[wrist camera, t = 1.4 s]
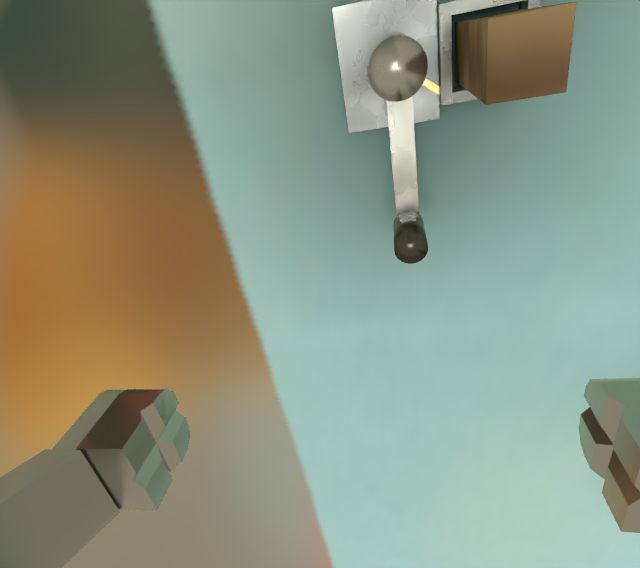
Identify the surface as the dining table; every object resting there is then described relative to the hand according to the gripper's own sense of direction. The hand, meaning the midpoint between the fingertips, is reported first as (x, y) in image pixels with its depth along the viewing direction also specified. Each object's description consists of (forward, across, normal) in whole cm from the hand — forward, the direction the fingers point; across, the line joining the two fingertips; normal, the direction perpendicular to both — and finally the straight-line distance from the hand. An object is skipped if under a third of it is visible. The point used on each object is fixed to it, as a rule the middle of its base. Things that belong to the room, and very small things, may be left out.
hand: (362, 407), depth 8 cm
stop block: (+31, -8, -5) cm, 33 cm away
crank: (+28, -2, 0) cm, 28 cm away
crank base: (+31, -2, -5) cm, 32 cm away
